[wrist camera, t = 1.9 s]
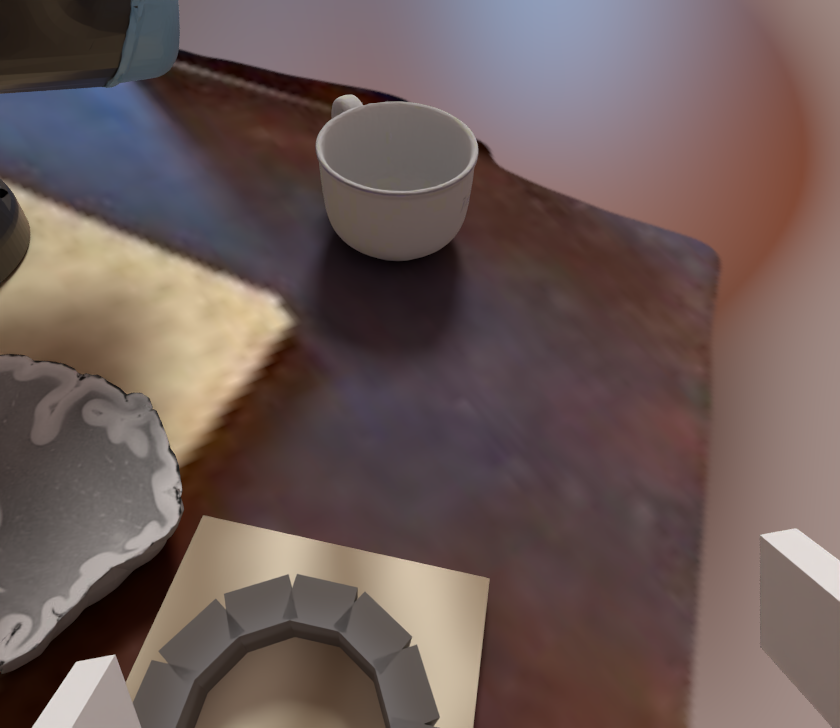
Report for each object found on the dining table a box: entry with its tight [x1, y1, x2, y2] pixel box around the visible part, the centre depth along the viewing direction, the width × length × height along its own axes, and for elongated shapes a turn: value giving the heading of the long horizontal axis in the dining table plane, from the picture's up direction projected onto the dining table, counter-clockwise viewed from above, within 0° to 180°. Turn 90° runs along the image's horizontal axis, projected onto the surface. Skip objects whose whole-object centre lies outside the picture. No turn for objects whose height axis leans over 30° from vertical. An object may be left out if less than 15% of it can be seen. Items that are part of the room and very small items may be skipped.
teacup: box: [316, 95, 478, 261], centre depth 42 cm, size 14×11×8 cm
